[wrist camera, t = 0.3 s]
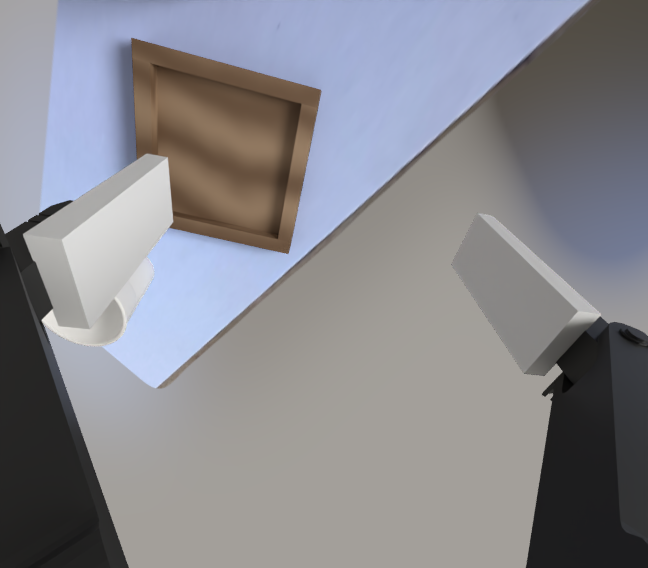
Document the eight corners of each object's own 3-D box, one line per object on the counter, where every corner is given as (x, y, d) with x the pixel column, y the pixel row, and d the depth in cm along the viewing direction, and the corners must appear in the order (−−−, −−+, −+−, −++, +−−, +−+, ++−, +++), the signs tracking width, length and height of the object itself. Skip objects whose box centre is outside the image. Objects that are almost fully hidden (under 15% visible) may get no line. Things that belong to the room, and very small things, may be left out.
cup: (167, 239, 42) (119, 278, 32) (171, 302, 47) (130, 352, 37) (89, 225, 41) (16, 262, 32) (101, 291, 46) (40, 340, 36)
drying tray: (144, 42, 32) (131, 37, 30) (321, 90, 34) (320, 89, 31) (149, 214, 40) (139, 221, 38) (290, 246, 42) (288, 253, 40)
